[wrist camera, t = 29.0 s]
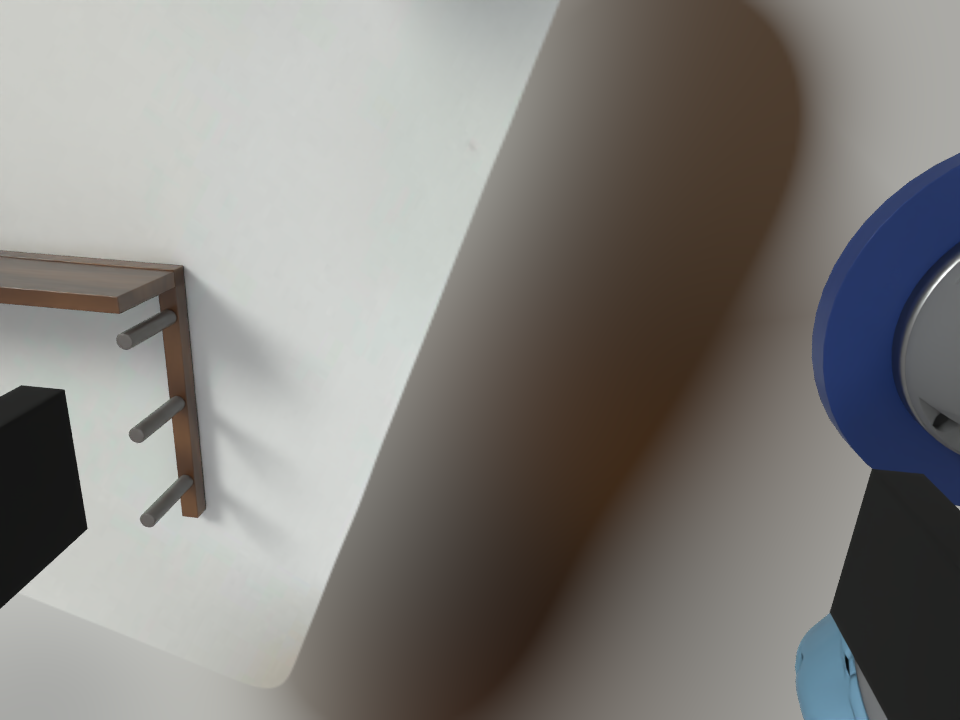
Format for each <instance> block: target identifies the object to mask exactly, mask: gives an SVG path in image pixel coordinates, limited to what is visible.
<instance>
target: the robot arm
mask: <svg viewBox="0 0 960 720" xmlns="http://www.w3.org/2000/svg"><path fill="white" fill-rule="evenodd" d="M892 372H893V378H894V382H895V386H896V389H897V391H898V394H899V396H900V398H901V400H902V402H903V404H904V406H905V407H906V409H907V410H908V412H909V413H910V415H911V416H912V417H913V418H914V419H915V421H916V422H917V423H918V424H919V425H921V426H922V427H923V428H924V429H925V430H926V431H927V432H928V433H929V434H931V435H932V436H933V437H934V438H935V439H936V440H937V441H939V442H940V443H941V444H943V445H944V446H945V447H947V448H949V449H950V450H952V451H954V452H955V453H957V454H959V455H960V242H959V243H958V244H956V245H955V246H954V247H952V248H951V249H950V250H949V251H948V252H946V253H945V254H944V255H943V256H942V257H941V258H939V259H938V261H937V262H936V263H935V264H934V265H933V266H932V267H931V268H930V269H929V270H928V271H927V272H926V273H925V275H924V276H923V277H922V278H921V280H920V281H919V282H918V284H917V285H916V287H915V288H914V290H913V291H912V293H911V294H910V296H909V298H908V300H907V301H906V303H905V305H904V307H903V310H902V312H901V314H900V317H899V320H898V323H897V325H896V329H895V333H894V338H893V344H892ZM86 530H87V523H86V516H85V510H84V504H83V498H82V492H81V486H80V480H79V474H78V468H77V462H76V456H75V450H74V444H73V438H72V432H71V426H70V420H69V414H68V408H67V402H66V396H65V390H63V389H52V388H42V387H32V386H22V385H21V386H19V387H18V388H16V389H14V390H12V391H10V392H8V393H6V394H4V395H3V396H1V397H0V608H2V607H3V606H4V605H5V604H6V603H7V602H8V601H9V600H10V599H11V598H12V597H14V596H15V595H16V594H17V593H18V592H19V591H20V590H21V589H22V588H23V587H24V586H26V585H27V584H28V583H29V582H30V581H31V580H32V579H33V578H34V577H35V576H37V575H38V574H39V573H40V572H41V571H42V570H43V569H44V568H45V567H46V566H47V565H49V564H50V563H51V562H52V561H53V560H54V559H55V558H56V557H57V556H58V555H59V554H61V553H62V552H63V551H64V550H65V549H66V548H67V547H68V546H69V545H70V544H71V543H73V542H74V541H75V540H76V539H77V538H78V537H79V536H80V535H81V534H82V533H83V532H85V531H86ZM795 670H796V690H797V695H798V700H799V703H800V708H801V711H802V715H803V718H804V720H960V510H959V509H958V508H957V507H956V506H955V505H954V504H953V503H952V502H951V501H950V500H949V499H948V498H947V497H946V496H945V495H944V494H943V493H942V492H941V491H940V490H939V489H938V488H937V487H936V486H935V485H934V484H933V483H932V482H931V481H930V480H929V479H928V478H927V477H926V476H925V475H924V474H920V473H910V472H899V471H889V470H879V469H872V471H871V474H870V477H869V481H868V484H867V488H866V491H865V494H864V498H863V502H862V505H861V508H860V511H859V515H858V518H857V522H856V525H855V529H854V532H853V535H852V539H851V542H850V546H849V549H848V552H847V556H846V559H845V563H844V566H843V569H842V573H841V576H840V580H839V583H838V586H837V590H836V593H835V597H834V600H833V604H832V607H831V610H830V613H829V614H828V615H827V616H826V617H824V618H823V619H822V620H821V621H819V622H818V623H817V624H816V625H815V626H813V627H812V628H811V629H810V630H809V631H808V632H807V633H806V635H805V636H804V637H803V639H802V641H801V643H800V645H799V647H798V651H797V655H796V664H795Z"/></svg>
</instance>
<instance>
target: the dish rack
mask: <svg viewBox="0 0 960 720" xmlns="http://www.w3.org/2000/svg"><path fill="white" fill-rule="evenodd" d="M157 295H159V303H160V313H158V314H156V315H154V316H152V317H151V318H149V319H147V320H145V321H143V322H141V323H139V324H138V325H136V326H134V327H132V328H130V329H128V330H126V331H124V332H123V333H121V334H119V335H118V336H117V344H118V345H119V347H120V348H122V349H125V350H128V349H131V348H133V347H134V346H136V345H138V344H139V343H141V342H143V341H145V340H146V339H148V338H150V337H151V336H153V335H155V334H157V333H158V332H160V331H163V340H164V349H165V358H166V368H167V377H168V386H169V396H170V400H168V401H167V402H166V403H164V404H163V405H162V406H161V407H159V408H158V409H157V410H155V411H154V412H153V413H151V414H150V415H149V416H148V417H146V418H145V419H144V420H142V421H141V422H140V423H139V424H137V425H136V426H135V427H133V428H132V429H131V430H130V432H129V436H130V438H131V440H132V441H134V442H136V443H141V442H143V441H144V440H145V439H147V438H148V437H149V436H150V435H151V434H153V433H154V432H155V431H156V430H158V429H159V428H160V427H161V426H162V425H164V424H165V423H166V422H167V421H168V420H170V419H171V418H172V423H173V433H174V442H175V451H176V460H177V470H178V479H177V480H176V481H175V482H174V483H173V484H172V485H171V486H170V487H169V488H168V489H167V490H166V491H165V492H164V493H163V494H162V495H161V496H160V497H159V498H158V499H157V500H156V501H155V502H154V503H153V504H152V505H151V506H150V507H149V508H148V509H147V510H146V511H145V512H144V513H143V514H142V515H141V517H140V521H141V523H142V524H143V525H144V526H146V527H153V526H154V525H155V524H156V523H157V522H158V521H159V520H160V519H161V518H162V517H163V516H164V514H165V513H166V512H167V511H168V510H169V509H170V508H171V507H172V506H173V505H174V504H175V503H176V502H177V501H178V500H179V499H180V498H181V507H182V516H186V517H195V518H198V517H199V516H200V515H201V514H202V513H203V512H204V510H205V509H206V507H205V496H204V485H203V475H202V464H201V453H200V443H199V432H198V421H197V411H196V400H195V389H194V379H193V368H192V357H191V347H190V336H189V325H188V315H187V304H186V293H185V282H184V271H183V266H179V265H167V264H155V263H143V262H131V261H119V260H107V259H95V258H83V257H71V256H59V255H47V254H35V253H23V252H11V251H0V303H4V304H15V305H26V306H37V307H48V308H60V309H71V310H82V311H93V312H104V313H116V314H120V313H122V312H124V311H126V310H128V309H130V308H133V307H135V306H137V305H139V304H141V303H143V302H145V301H147V300H149V299H151V298H153V297H155V296H157Z"/></svg>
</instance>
